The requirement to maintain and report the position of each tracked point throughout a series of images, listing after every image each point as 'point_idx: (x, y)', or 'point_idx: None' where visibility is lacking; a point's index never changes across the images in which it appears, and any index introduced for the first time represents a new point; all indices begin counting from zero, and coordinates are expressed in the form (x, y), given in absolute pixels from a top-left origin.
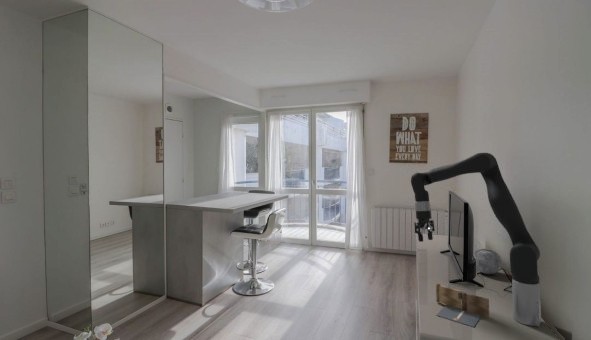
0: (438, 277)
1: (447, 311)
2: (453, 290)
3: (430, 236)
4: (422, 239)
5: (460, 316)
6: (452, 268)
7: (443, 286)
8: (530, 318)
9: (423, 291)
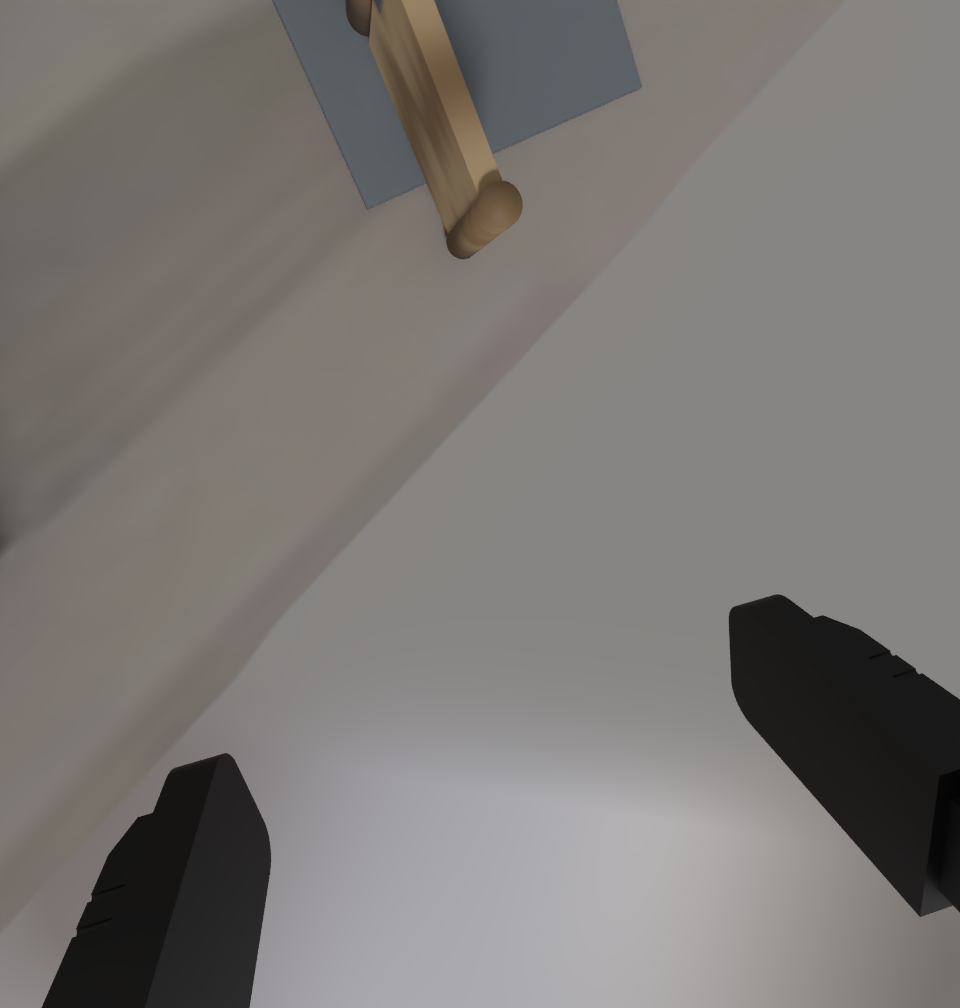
0: (18, 681)
1: (522, 77)
2: (436, 20)
3: (213, 888)
4: (813, 625)
5: None
6: None
7: (468, 149)
8: None
9: (404, 476)
